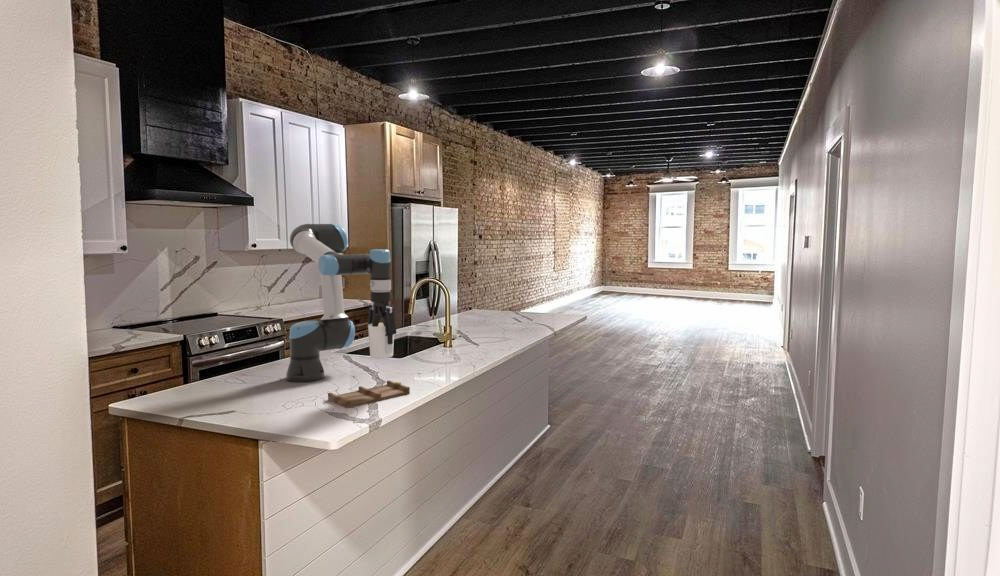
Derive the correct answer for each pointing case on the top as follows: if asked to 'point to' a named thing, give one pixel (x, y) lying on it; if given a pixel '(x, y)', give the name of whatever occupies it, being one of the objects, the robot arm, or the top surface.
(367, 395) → the brown wooden flat tray
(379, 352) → the candle holder
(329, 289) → the robot arm
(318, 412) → the top surface
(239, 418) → the top surface
